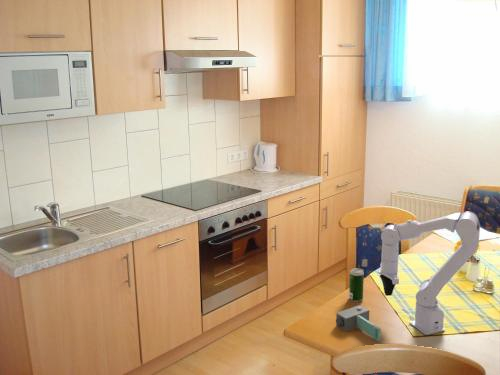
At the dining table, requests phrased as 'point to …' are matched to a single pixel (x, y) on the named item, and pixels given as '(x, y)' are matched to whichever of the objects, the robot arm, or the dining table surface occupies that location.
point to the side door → (369, 328)
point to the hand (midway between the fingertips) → (388, 294)
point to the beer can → (356, 285)
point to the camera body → (350, 317)
